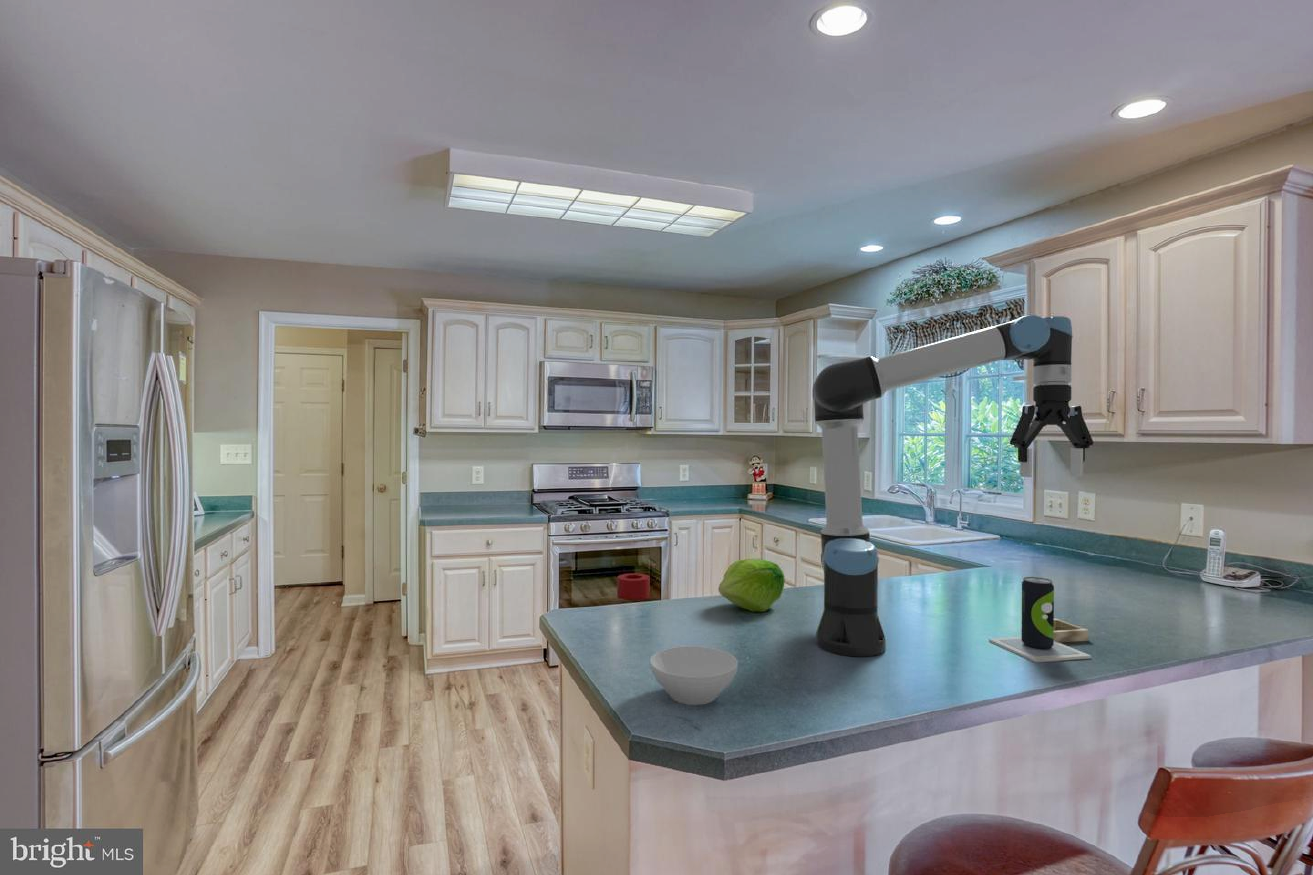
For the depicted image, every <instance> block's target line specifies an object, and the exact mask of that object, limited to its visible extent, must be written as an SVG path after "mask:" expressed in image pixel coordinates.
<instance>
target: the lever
mask: <svg viewBox="0 0 1313 875" xmlns="http://www.w3.org/2000/svg"><path fill="white" fill-rule="evenodd" d="M616 580H617V582H616V583H617V587H616V588H617V589H616V590H617V596H616V597H617V598H618V599H620V600H624V601H643V600H647V599H649V598H650V595H651V593H650V590H651V588H650V587H651V586H650V581H651V580H650V576H649V575H648V574H644V573H637V572H636V573H634V572H633V573H630V572H629V573H623V574H620V575H618V576H617V579H616Z"/></svg>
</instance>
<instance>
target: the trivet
mask: <svg viewBox="0 0 1313 875" xmlns="http://www.w3.org/2000/svg"><path fill="white" fill-rule="evenodd" d="M1021 638H1022V636H1013V637H1012V636H1010V637H997V638H995V637H993V638H988V642H989V641H990V643H991V642H992V644H993V643H994V645H996V646H997V647H1000V648H1002V647H1003V648H1002V649H1004V648H1005V649H1004V650H1006V651H1009V652H1012V653H1013V652H1015V653H1017V654H1016V655H1018V654H1019V655H1018V656H1020V655H1021V656H1020V657H1022V656H1023V657H1022V658H1024V657H1025V658H1024V659H1026V658H1027V660H1028V659H1029V660H1028V661H1030V662H1033V663H1044V662H1045V663H1046V662H1058V661H1059V662H1061V661H1071V660H1074V661H1075V660H1086V659H1087V660H1088V659H1089V660H1090V659H1092V655H1091V654H1088V653H1085V652H1083V651H1081V650H1078V649H1076V648H1073V647H1071V646H1068V645H1065V644H1064V643H1058V642H1056V641H1054V645H1053V646H1052V647H1051V648H1050V649H1047V650H1041V649H1034V648H1030V647H1028V646H1026V645H1024V643H1023V642H1022V640H1021ZM1015 653H1014V654H1015Z"/></svg>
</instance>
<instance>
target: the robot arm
mask: <svg viewBox="0 0 1313 875" xmlns="http://www.w3.org/2000/svg"><path fill="white" fill-rule="evenodd" d="M1072 345H1073V326H1072V320H1071V319H1070V318H1069V317H1067V316H1061V315H1060V316H1059V315H1058V316H1057V315H1055V316H1045V317H1044V316H1043V317H1042V316H1039V315H1034V314H1028V315H1023V316H1019V317H1018V318H1016V319H1014V320H1012V321H1008V322H1007V321H1006V322H1004V323H1000V324H998V325H994V326H989V327H986V328H983V329H979V330H975V331H971V332H969V333H964V334H961V335H958V336H954V337H951V338H947V339H944V340H940V341H937V342H933V343H930V344H926V345H922V346H919V347H918V346H917V347H915V348H912V349H911V348H910V349H908V350H904V351H901V352H898V353H894V354H890V355H887V356H883V357H879V358H875V357H873V356H872V355H871V356H867V357H864V358H863V357H862V358H859V359H855V360H849V361H843V362H838V363H833V364H830V365H828V366H826V367H825V368H823V369H822V370H821V371H820V372H819V373H818V375H817V377H816V379H815V381H814V383H813V386H812V398H813V405H814V423H815V424H816V425H817V426H818V427H820V429H821V439H822V441H821V442H822V460H823V461H822V462H823V479H824V501H825V502H824V503H825V520H826V522H825V523H826V524H825V526H824V527H822V529H821V530H820V542H821V554H820V563H821V568H822V569H823V586H824V587H823V611H822V615H821V617H820V620H819V623H818V627H817V629H816V633H815V643H816V645H817V646H818V648H820V649H822V650H823V651H826V652H829V653H833V654H837V655H840V656H841V655H842V656H847V657H873V656H878V655H881V654H883V653H885V652H886V646H887V645H886V644H887V642H886V641H887V640H886V637H885V633H884V630H883V627H882V623H881V621H880V617H879V615H878V598H879V597H878V596H879V594H878V593H879V591H878V588H879V587H878V586H879V585H878V580H879V578H878V577H879V575H878V573H879V570H878V569H879V562H880V558H879V554H878V549H877V548H878V547H876V546H875V545H874V544H873V543H872V542H871V541H870V540H871V538H870V536H871V535H870V529H868V528H867V527H866V526H865V525H864V524H863V509H862V489H861V486H862V485H861V470H860V469H861V466H860V455H859V454H860V450H859V448H860V447H859V433H858V432H859V426H860V425H861V424H862V423H863V421H864V417H865V416H864V404H865V403H868V402H871V401H873V400H877V399H881V398H883V396H884V395H885V393H886V392H889V391H893V390H896V389H897V390H898V389H900V388H904V387H906V386H911V385H914V384H915V385H916V384H917V383H922V382H925V381H929V380H932V379H936V378H940V377H943V376H947V375H951V374H955V373H958V372H962V371H965V370H970V369H973V368H977V367H980V366H984V365H986V364H987V365H988V364H991V363H994V362H998V361H1015V360H1019V361H1020V360H1026V361H1027V360H1028V361H1029V360H1032V361H1033V365H1032V366H1033V371H1032V372H1033V374H1032V377H1033V378H1032V379H1033V380H1032V381H1033V382H1032V384H1034V385H1035V386H1033V388H1032V389H1033V391H1032V392H1033V393H1032V394H1033V395H1032V396H1033V397H1032V398H1033V399H1032V400H1033V402H1035V405H1034V404H1027V405H1023V406H1022V407H1021V408H1022V409H1021V410H1022V411H1021V416H1020V418H1019V420H1018V422H1017V424H1016V427H1015V429H1014V431H1013V433H1012V435H1011V438H1010V440H1009V445H1010V446H1013V447H1014V448H1015V449H1017V461H1018V462H1019V477H1023V478H1033V448H1029V447H1030V446H1031V444H1032V443H1033V442H1034V440H1035V439H1036V438H1037V437H1038V435H1039V434H1040V433H1041V431H1042V429H1044V427H1046V426H1057V427H1059V428H1060V430H1061V431H1062V432H1063V434H1064V435H1065V437H1066V438H1067V439H1068V441H1069V442H1070V443H1071V445H1072V446H1073V448H1072V447H1071V448H1070V473H1069V474H1070V477H1077V478H1078V477H1079V478H1081V477H1084V463H1085V461H1086V449H1089V448H1090V446H1093V445H1094V441H1093V438H1092V435H1091V433H1090V430H1089V428H1088V426H1087V424H1086V420H1085V419H1084V416H1083V411H1082V406H1081V405H1069V404H1070V401H1071V400H1072V386H1071V385H1070V383H1071V382H1072V350H1073V346H1072Z"/></svg>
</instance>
